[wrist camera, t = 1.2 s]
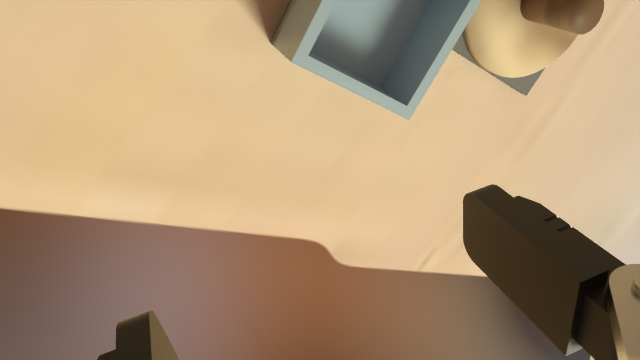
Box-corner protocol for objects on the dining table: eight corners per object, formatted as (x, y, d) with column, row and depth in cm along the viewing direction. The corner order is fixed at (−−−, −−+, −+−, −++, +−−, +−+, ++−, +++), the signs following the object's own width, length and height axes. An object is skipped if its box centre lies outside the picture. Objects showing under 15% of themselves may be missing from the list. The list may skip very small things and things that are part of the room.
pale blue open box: (340, -102, 30) (374, -104, 26) (446, -23, 35) (489, -13, 31) (270, 42, 33) (291, 62, 29) (378, 97, 38) (409, 119, 34)
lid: (526, -125, 32) (598, -130, 28) (613, -34, 39) (684, -26, 34) (432, 35, 36) (481, 56, 31) (526, 95, 42) (579, 120, 37)
